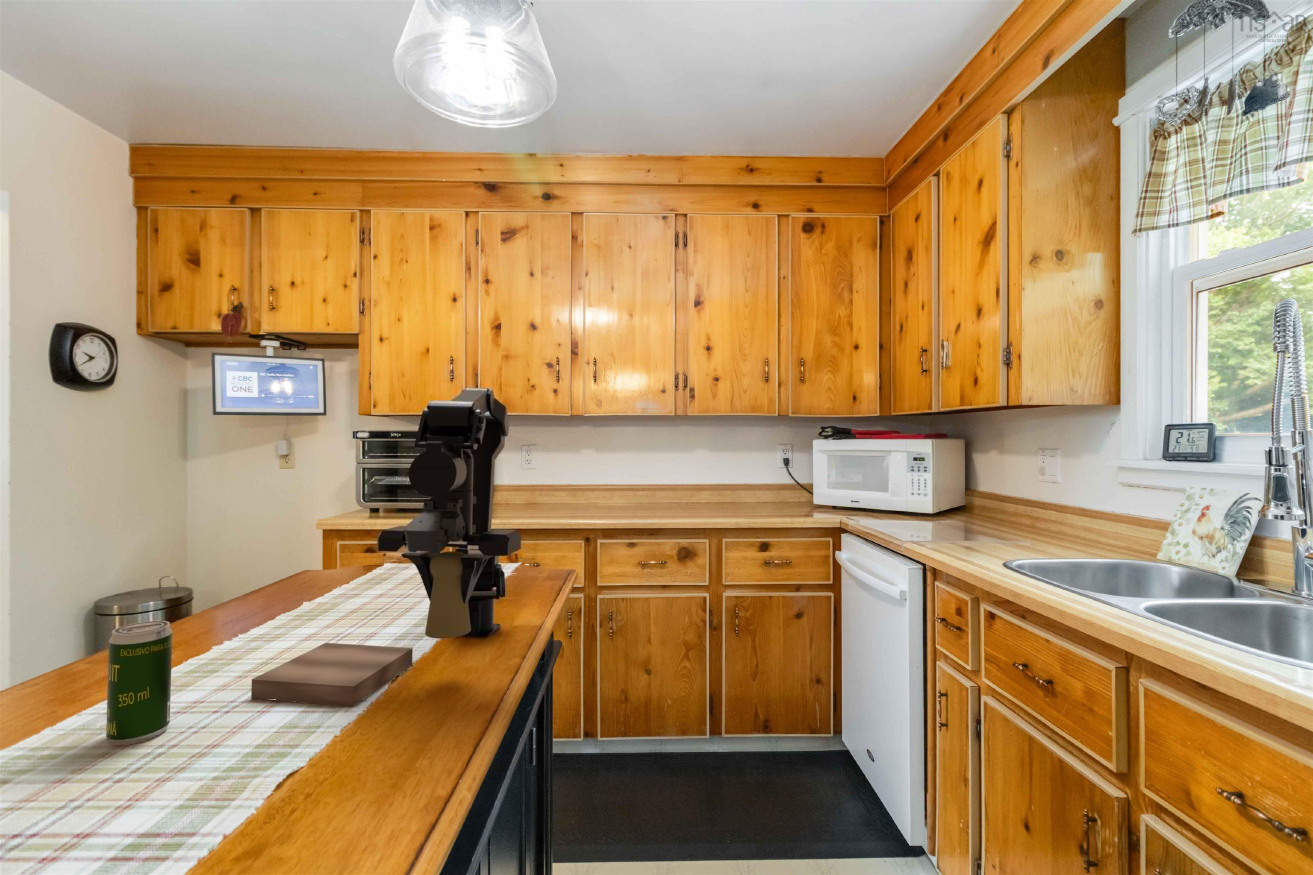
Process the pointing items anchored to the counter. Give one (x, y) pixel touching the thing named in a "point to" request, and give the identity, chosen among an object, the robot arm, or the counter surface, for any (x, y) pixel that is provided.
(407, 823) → the counter surface
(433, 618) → the olive brown game pawn
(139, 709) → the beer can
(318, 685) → the walnut base
